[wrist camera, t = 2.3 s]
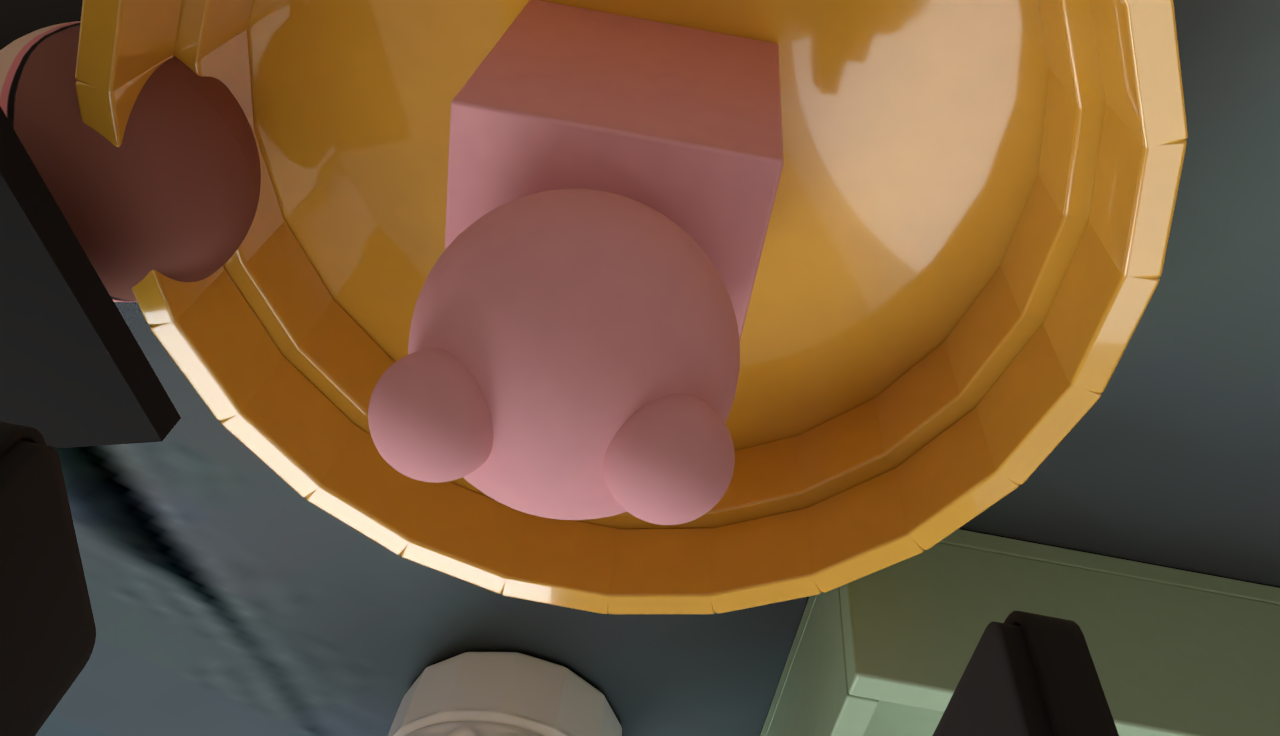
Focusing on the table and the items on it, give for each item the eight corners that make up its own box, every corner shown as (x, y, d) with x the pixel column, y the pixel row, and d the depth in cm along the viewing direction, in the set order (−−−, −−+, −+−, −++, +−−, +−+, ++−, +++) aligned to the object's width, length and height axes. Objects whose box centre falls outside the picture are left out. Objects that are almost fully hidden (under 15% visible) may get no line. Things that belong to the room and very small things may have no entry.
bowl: (159, -499, 15) (-40, -562, 11) (1284, -294, 15) (1453, -290, 11) (243, 406, 25) (151, 532, 21) (929, 532, 25) (957, 680, 21)
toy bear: (530, -3, 18) (334, 247, 10) (779, 42, 18) (791, 331, 10) (508, 258, 21) (344, 615, 13) (722, 297, 21) (694, 680, 13)
